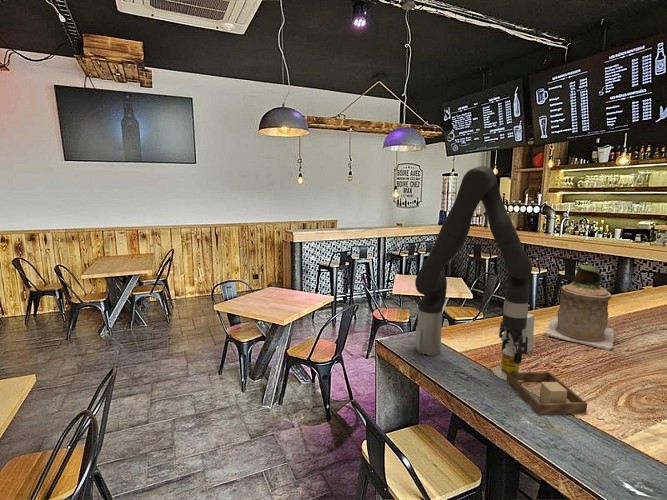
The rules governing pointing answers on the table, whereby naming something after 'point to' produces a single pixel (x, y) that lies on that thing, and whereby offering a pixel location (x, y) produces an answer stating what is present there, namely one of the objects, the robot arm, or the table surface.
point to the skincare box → (528, 332)
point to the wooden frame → (546, 408)
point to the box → (552, 393)
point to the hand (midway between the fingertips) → (510, 357)
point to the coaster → (501, 375)
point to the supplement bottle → (509, 360)
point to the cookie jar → (583, 311)
